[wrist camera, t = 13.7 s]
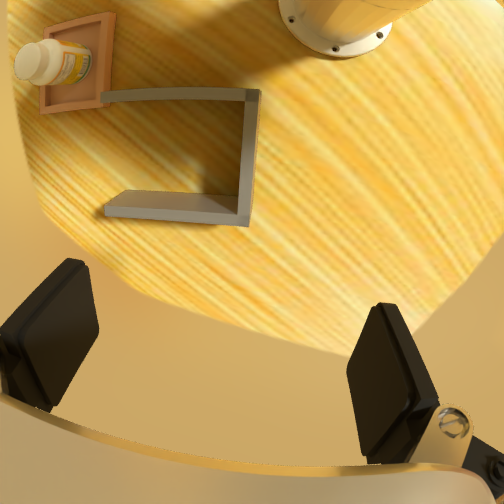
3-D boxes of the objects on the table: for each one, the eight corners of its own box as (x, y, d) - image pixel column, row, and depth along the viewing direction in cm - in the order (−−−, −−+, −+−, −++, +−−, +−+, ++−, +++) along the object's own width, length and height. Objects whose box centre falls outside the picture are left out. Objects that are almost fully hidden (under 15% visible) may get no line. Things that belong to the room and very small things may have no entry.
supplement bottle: (99, 70, 30) (51, 67, 21) (66, 92, 31) (16, 97, 22) (86, 35, 28) (39, 26, 19) (54, 58, 29) (5, 57, 20)
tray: (52, 29, 27) (44, 28, 25) (116, 14, 27) (109, 11, 25) (47, 113, 32) (39, 115, 31) (110, 106, 32) (102, 107, 31)
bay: (125, 91, 32) (100, 91, 26) (261, 91, 31) (259, 89, 26) (126, 199, 38) (104, 216, 32) (252, 207, 37) (248, 227, 32)
